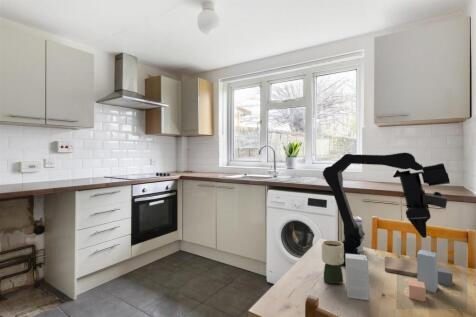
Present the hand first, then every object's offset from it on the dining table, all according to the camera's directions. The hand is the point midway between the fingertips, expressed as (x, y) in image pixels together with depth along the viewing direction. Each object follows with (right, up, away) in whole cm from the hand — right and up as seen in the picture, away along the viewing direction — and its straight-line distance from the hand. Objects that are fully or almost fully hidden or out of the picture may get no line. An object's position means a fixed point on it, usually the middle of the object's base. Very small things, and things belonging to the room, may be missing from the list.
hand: (424, 233), depth 86 cm
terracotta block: (-9, -16, -9) cm, 21 cm away
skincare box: (-27, -17, -8) cm, 32 cm away
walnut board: (-1, -16, +10) cm, 19 cm away
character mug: (-30, -17, +1) cm, 35 cm away
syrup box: (-9, -16, +30) cm, 35 cm away
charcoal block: (+6, -16, -1) cm, 17 cm away
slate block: (-2, -16, -4) cm, 17 cm away
